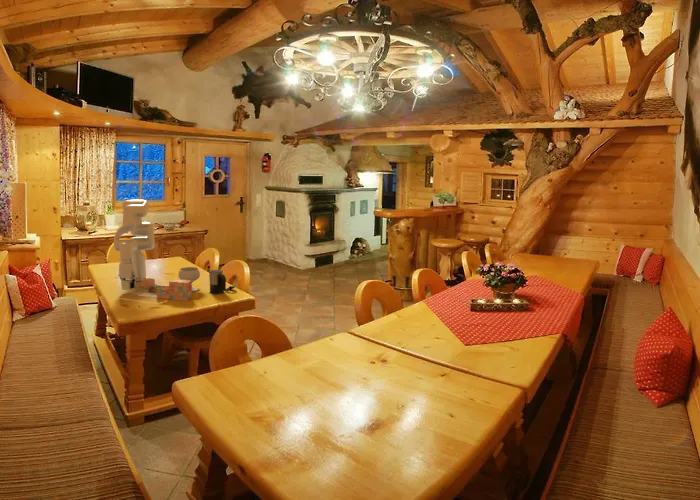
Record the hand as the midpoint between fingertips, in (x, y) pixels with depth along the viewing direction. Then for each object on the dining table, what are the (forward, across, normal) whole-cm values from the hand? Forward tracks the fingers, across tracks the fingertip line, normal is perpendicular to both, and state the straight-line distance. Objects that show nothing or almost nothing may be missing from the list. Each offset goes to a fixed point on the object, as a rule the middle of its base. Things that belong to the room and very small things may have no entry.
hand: (128, 287), depth 326 cm
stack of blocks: (+4, +35, +3) cm, 35 cm away
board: (+4, +14, +5) cm, 15 cm away
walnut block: (+4, +14, +9) cm, 17 cm away
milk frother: (+5, +52, +30) cm, 60 cm away
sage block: (+1, 0, 0) cm, 1 cm away
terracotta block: (+5, 0, +17) cm, 18 cm away
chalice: (+5, +30, +23) cm, 39 cm away
